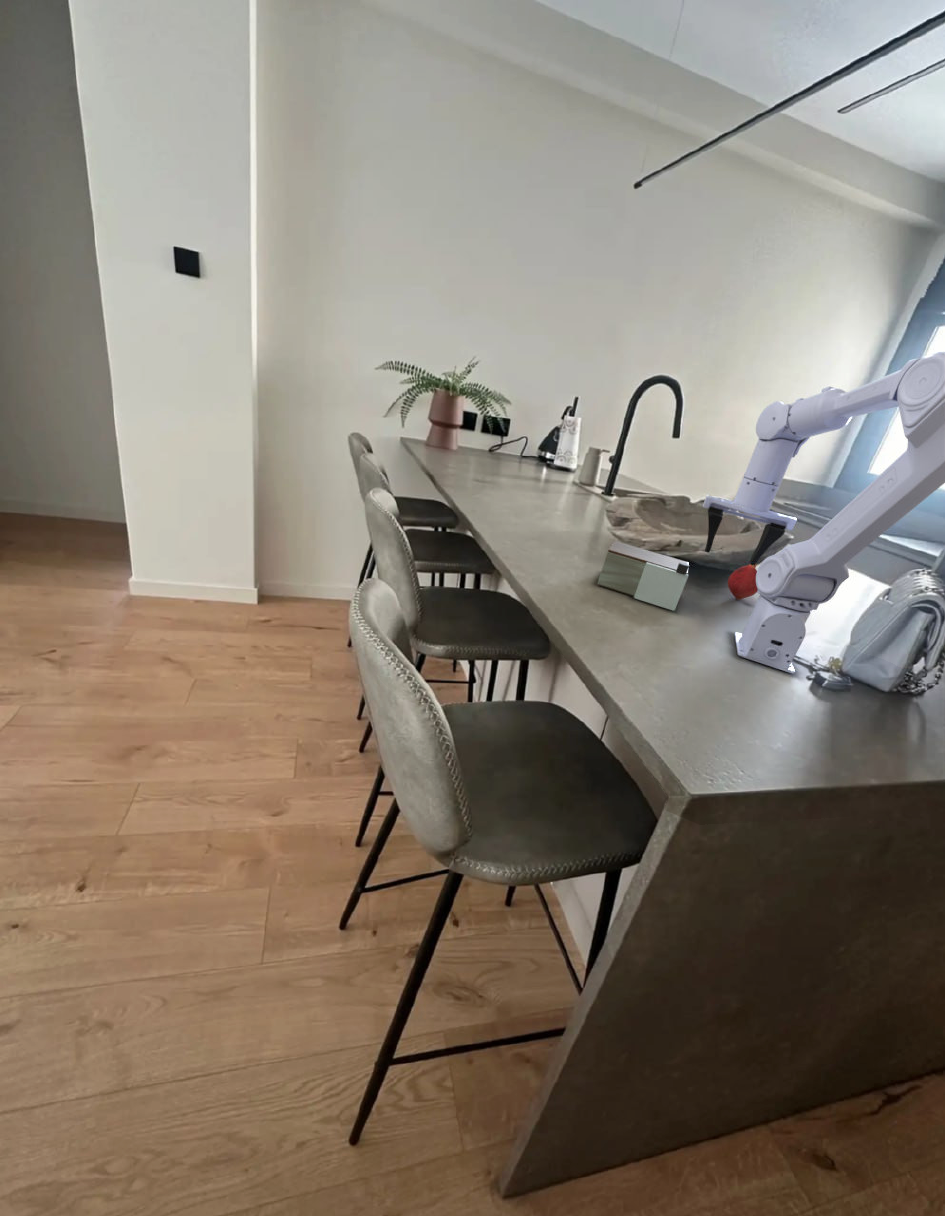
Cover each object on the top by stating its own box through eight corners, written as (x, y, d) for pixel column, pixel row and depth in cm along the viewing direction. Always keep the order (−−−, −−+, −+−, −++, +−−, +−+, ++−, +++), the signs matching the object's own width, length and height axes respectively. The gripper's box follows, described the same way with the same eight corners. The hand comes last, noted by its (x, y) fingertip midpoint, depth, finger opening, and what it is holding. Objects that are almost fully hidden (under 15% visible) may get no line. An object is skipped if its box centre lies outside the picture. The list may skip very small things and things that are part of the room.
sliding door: (674, 611, 92) (691, 567, 88) (633, 598, 94) (649, 554, 90) (674, 609, 93) (692, 565, 89) (634, 596, 95) (649, 553, 91)
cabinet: (673, 610, 93) (687, 574, 90) (596, 585, 97) (608, 550, 94) (675, 596, 100) (688, 562, 97) (603, 574, 104) (614, 540, 101)
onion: (724, 599, 105) (740, 562, 101) (720, 590, 110) (735, 554, 107) (754, 608, 104) (772, 570, 100) (749, 598, 109) (765, 562, 105)
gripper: (804, 490, 89) (770, 564, 95) (715, 468, 93) (688, 541, 99) (811, 494, 83) (775, 574, 88) (716, 471, 87) (687, 549, 92)
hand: (729, 557), depth 93 cm, fingers open, 7 cm apart
